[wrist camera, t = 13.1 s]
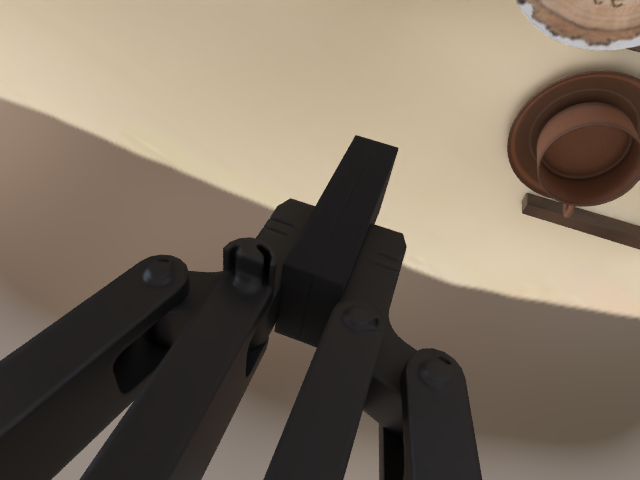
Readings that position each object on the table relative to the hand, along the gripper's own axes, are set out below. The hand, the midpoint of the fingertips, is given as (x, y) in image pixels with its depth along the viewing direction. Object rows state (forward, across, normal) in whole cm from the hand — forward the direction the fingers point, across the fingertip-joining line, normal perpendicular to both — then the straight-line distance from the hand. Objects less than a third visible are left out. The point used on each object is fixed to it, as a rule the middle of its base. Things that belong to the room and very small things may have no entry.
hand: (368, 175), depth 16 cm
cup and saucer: (+29, +14, -8) cm, 33 cm away
